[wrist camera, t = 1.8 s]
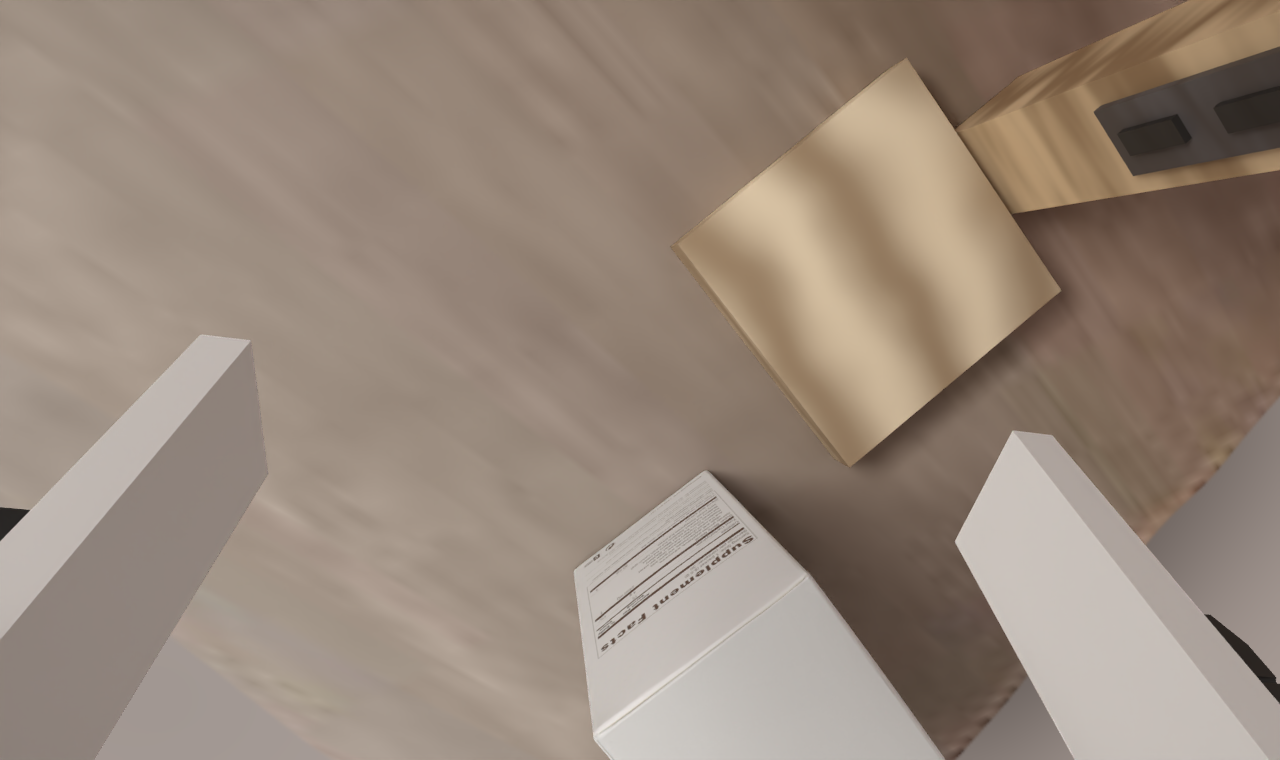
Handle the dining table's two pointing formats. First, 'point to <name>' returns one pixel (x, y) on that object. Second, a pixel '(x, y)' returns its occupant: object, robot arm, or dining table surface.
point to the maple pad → (869, 265)
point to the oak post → (1139, 110)
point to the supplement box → (727, 647)
